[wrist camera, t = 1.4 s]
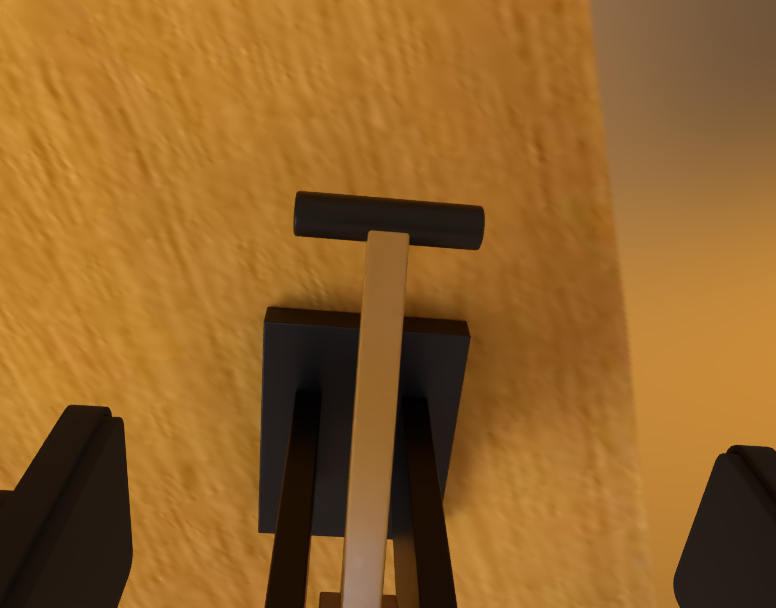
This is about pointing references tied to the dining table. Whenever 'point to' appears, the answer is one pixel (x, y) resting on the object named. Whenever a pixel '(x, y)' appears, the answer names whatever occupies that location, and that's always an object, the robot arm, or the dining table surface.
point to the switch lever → (378, 358)
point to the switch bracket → (333, 447)
